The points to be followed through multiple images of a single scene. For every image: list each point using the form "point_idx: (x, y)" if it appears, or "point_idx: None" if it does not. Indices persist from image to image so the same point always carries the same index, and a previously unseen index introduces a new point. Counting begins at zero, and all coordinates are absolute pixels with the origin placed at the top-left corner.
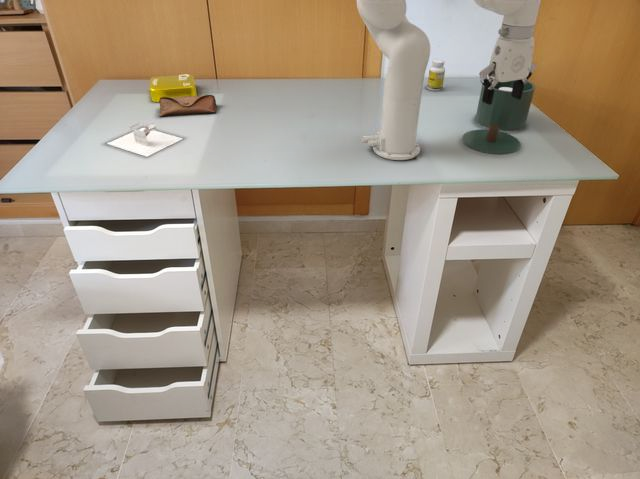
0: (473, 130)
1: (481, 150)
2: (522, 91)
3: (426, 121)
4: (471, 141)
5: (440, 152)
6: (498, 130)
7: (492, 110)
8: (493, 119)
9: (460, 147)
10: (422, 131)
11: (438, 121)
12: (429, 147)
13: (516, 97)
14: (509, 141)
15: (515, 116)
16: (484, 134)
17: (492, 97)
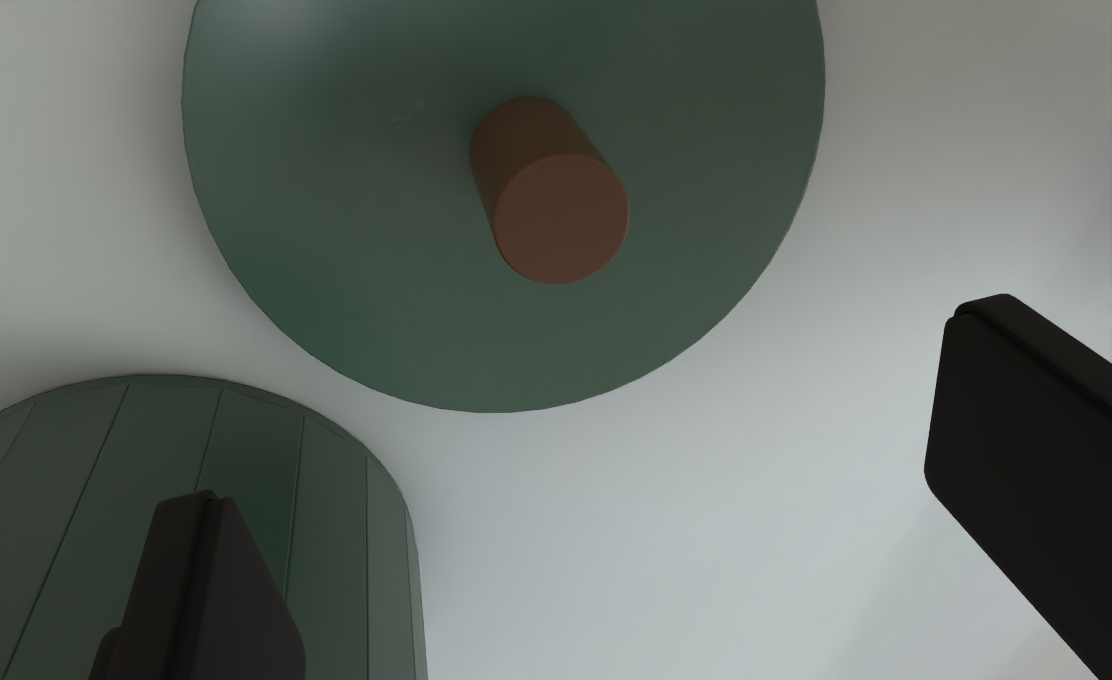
0: (573, 399)
1: None
2: (128, 643)
3: (773, 609)
4: (744, 167)
5: (1076, 62)
6: (518, 152)
7: (369, 601)
8: (346, 510)
9: (842, 130)
10: (913, 464)
11: (691, 608)
12: (1078, 183)
13: (252, 551)
14: (322, 80)
15: (87, 496)
16: (516, 304)
17: (1092, 374)
